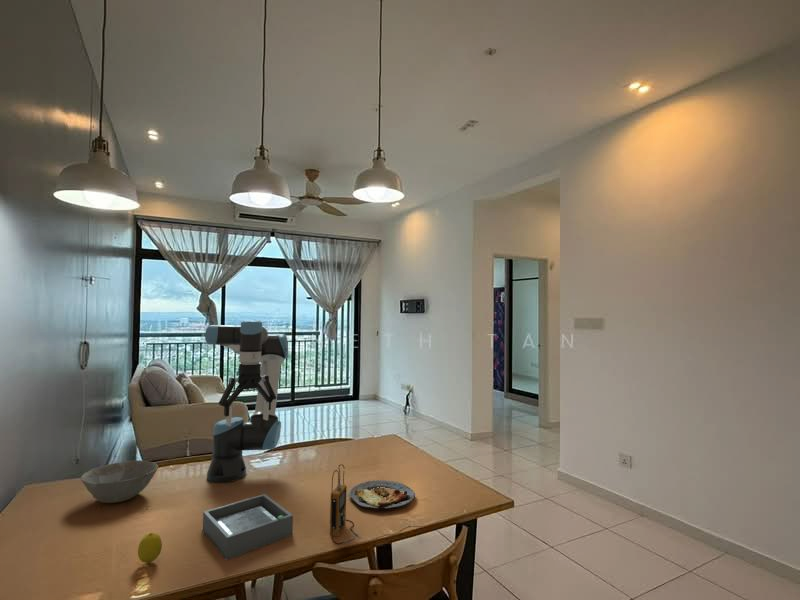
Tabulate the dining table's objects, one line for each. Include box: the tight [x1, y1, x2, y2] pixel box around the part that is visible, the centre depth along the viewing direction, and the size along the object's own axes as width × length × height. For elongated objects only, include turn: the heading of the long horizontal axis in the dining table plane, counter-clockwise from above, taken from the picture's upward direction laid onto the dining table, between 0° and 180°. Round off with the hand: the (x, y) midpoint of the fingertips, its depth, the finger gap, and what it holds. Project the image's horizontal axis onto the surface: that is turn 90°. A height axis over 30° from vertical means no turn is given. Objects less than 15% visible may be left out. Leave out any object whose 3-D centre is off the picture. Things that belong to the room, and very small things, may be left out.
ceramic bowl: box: [80, 459, 159, 504], centre depth 148 cm, size 22×23×10 cm
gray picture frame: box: [216, 506, 276, 535], centre depth 126 cm, size 15×15×1 cm
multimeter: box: [329, 464, 362, 545], centre depth 128 cm, size 15×10×20 cm
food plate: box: [348, 479, 416, 510], centre depth 153 cm, size 25×23×4 cm
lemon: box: [137, 532, 163, 565], centre depth 110 cm, size 6×6×8 cm
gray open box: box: [202, 493, 294, 561], centre depth 126 cm, size 20×20×7 cm
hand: (247, 422), depth 147 cm, fingers open, 13 cm apart
